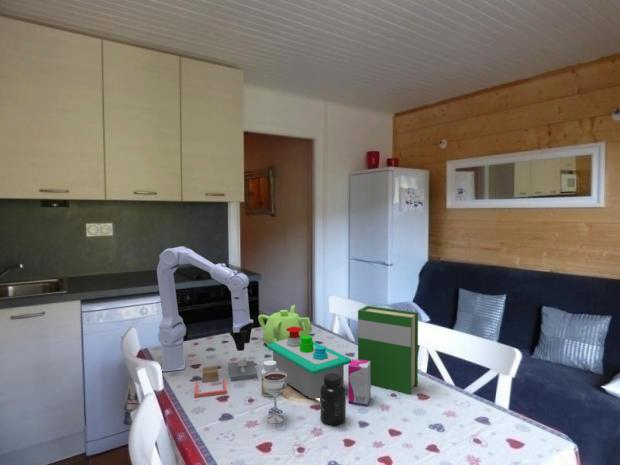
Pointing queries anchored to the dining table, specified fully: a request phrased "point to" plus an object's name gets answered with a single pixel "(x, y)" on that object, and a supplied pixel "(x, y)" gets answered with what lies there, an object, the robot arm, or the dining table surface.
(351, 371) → the supplement box
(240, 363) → the switch
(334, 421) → the supplement bottle
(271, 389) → the wineglass
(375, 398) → the dining table surface
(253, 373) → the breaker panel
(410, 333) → the hardback book
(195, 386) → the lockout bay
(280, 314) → the teapot
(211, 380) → the block
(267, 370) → the supplement bottle
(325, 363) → the control panel
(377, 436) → the dining table surface
